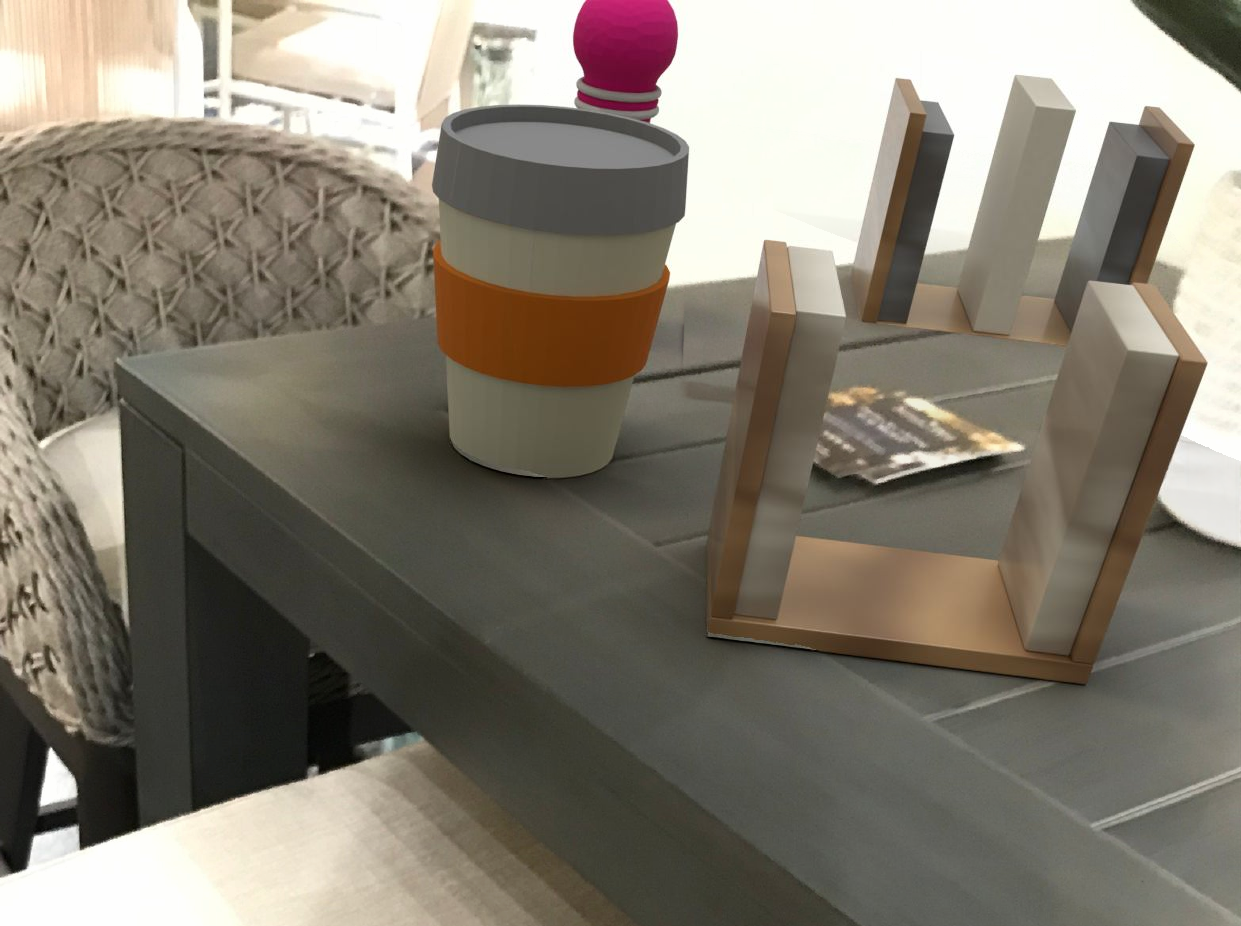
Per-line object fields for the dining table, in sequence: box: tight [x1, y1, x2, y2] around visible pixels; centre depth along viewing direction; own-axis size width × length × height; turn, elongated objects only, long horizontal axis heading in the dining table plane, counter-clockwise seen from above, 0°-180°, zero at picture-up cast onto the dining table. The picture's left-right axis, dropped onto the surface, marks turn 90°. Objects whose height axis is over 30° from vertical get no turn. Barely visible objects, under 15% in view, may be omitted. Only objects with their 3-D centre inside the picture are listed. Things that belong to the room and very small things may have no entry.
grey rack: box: [850, 77, 1196, 347], centre depth 105 cm, size 17×10×13 cm, turn 83°
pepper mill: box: [572, 0, 679, 123], centre depth 97 cm, size 7×7×20 cm
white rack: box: [705, 239, 1208, 685], centre depth 71 cm, size 17×10×14 cm, turn 83°
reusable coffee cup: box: [431, 104, 690, 479], centre depth 83 cm, size 13×13×15 cm
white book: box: [956, 74, 1077, 335], centre depth 104 cm, size 2×9×13 cm, turn 174°
